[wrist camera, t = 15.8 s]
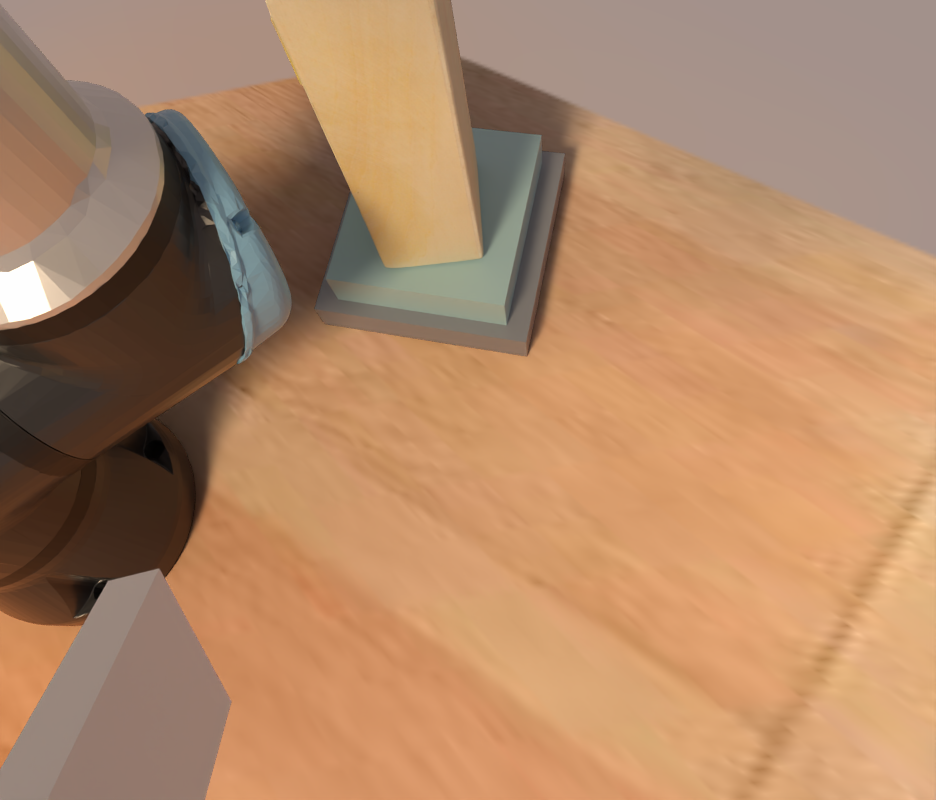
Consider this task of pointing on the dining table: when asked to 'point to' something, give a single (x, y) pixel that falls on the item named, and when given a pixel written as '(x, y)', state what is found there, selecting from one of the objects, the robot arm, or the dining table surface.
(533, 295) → the brick stand
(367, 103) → the toy refrigerator
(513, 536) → the dining table surface
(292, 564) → the dining table surface
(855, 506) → the dining table surface
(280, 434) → the dining table surface
